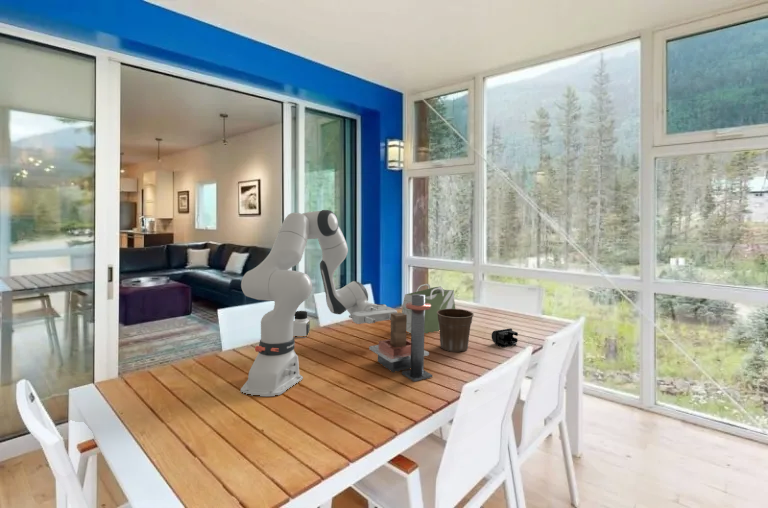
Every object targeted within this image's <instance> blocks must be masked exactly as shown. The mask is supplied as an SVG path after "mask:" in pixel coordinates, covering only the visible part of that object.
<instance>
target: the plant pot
mask: <svg viewBox="0 0 768 508" xmlns="http://www.w3.org/2000/svg"><path fill="white" fill-rule="evenodd" d="M437 314H438V321H439V330H440V331H439V343H440V344H439V345H440V348H441V349H443V350H444V351H446V350H447V352H450V351H452V353H460V352H461V351H462V352H466V351H467V350H468V349H469V340H470V339H469V338H470V332H471V325H472V322H473V318H474V317H473V316H474V312H472V311H470V310H466V309H462V308H461V309H460V308H455V309H442V310H438V311H437Z"/></svg>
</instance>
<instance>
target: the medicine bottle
mask: <svg viewBox="0 0 768 508" xmlns="http://www.w3.org/2000/svg"><path fill="white" fill-rule="evenodd" d="M310 322H311V321H310V319H308V311H306V310H296V313H295V316H294V322H293V336H307V335H308V333H309V331H310V327H311V325H310ZM309 334H310V333H309ZM308 336H309V335H308ZM308 336H307V337H308Z"/></svg>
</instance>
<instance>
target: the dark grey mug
mask: <svg viewBox="0 0 768 508" xmlns="http://www.w3.org/2000/svg"><path fill="white" fill-rule="evenodd" d="M518 335H519V333H518V332H517V331H514V330H513V328H504V329H498V330H493V331H492V332H491V340H492V342H493V343H494V344H495V346H497V345H499V346H498V347H500V346H501V347H500V348H507V346H508V347H513V346H512V345H514V346H517V345H518V344H517V343H518V340H519V339H518V338H517V337H518ZM514 336H515V337H514ZM516 344H517V345H516Z"/></svg>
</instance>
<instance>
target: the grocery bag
mask: <svg viewBox="0 0 768 508" xmlns="http://www.w3.org/2000/svg"><path fill="white" fill-rule="evenodd" d="M424 286H427V287H428V288H426V289H423V290H419V289H420V288H422V287H424ZM412 294H424V295H425V303H429V304H431V309H429V310H425V327H424V333H426V334H429V333H428V332H431V333H435V332H434V331H436V332H440V331H439V321H438V314H437V311H438V310H442V309H456V303H455V291H454V289H444V288H443V287H442V286H434V287H433V286H432V287H431V285H430V284H429V283H425V284H420V285H418V287H417V289H416V291H414V292H409V293H405V294H404V299H403V302H402V310H401V313H403V314H406V315H407V323H406V331H407V332H409V333H411V312H412V310H410V309H407V308H406V303H409V302H412ZM409 333H408V334H409Z"/></svg>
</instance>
